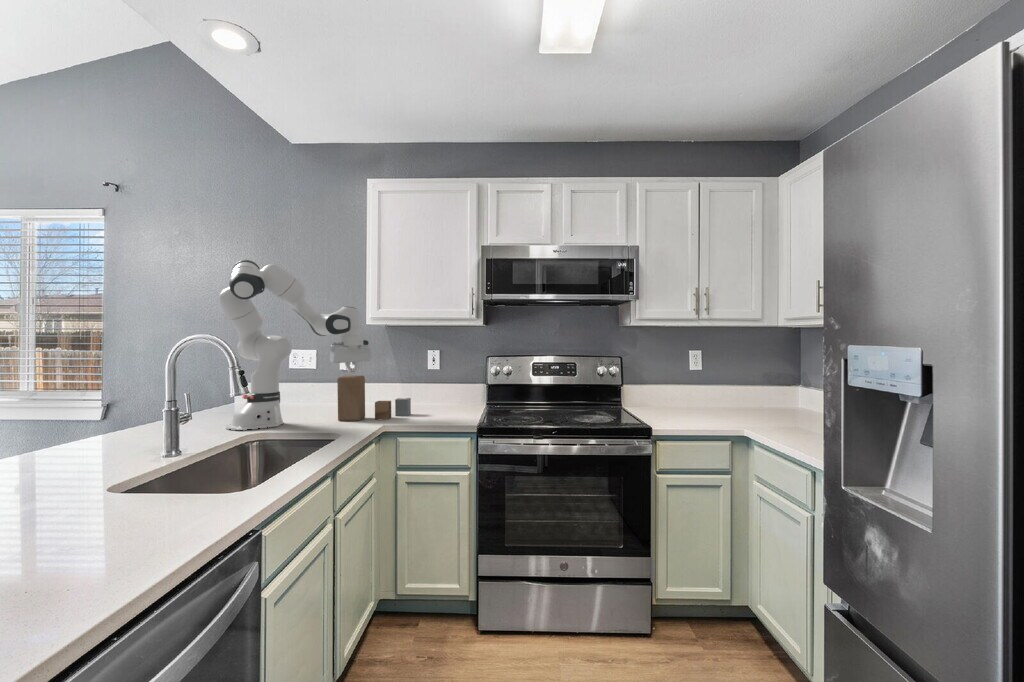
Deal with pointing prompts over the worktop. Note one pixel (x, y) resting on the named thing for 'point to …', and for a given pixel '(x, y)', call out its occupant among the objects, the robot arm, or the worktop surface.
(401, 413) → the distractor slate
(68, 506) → the worktop surface
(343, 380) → the block
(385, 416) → the brown upright block
